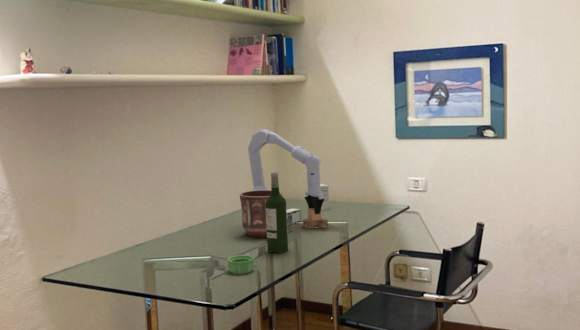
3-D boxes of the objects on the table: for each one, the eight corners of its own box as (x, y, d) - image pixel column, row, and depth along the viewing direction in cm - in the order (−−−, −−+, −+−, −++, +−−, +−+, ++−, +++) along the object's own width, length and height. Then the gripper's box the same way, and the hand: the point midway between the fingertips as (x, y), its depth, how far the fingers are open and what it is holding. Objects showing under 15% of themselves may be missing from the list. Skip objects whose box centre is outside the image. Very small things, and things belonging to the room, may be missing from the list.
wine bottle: (263, 251, 235) (259, 173, 231) (278, 247, 240) (274, 171, 237) (277, 254, 229) (273, 174, 226) (292, 250, 235) (289, 172, 231)
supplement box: (310, 208, 318) (309, 184, 316) (322, 207, 321) (321, 183, 319) (316, 211, 311) (315, 186, 310) (329, 209, 314) (328, 184, 313)
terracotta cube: (312, 221, 272) (312, 210, 271) (308, 219, 276) (307, 208, 275) (321, 220, 274) (321, 209, 273) (317, 218, 278) (316, 207, 277)
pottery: (246, 241, 252) (244, 197, 250) (238, 232, 269) (236, 191, 267) (287, 237, 257) (286, 194, 255) (277, 229, 274) (275, 189, 272)
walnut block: (312, 230, 270) (312, 222, 270) (303, 227, 277) (302, 219, 276) (327, 227, 274) (327, 220, 273) (318, 224, 281) (317, 217, 280)
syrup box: (302, 221, 288) (283, 227, 277) (292, 219, 292) (272, 225, 280) (301, 209, 287) (282, 214, 276) (291, 208, 291) (272, 213, 280)
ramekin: (222, 272, 209) (221, 259, 209) (240, 266, 216) (239, 253, 216) (242, 276, 204) (241, 263, 203) (259, 269, 211) (259, 257, 210)
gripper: (329, 183, 268) (330, 214, 270) (314, 180, 281) (315, 209, 283) (314, 185, 265) (315, 216, 267) (300, 181, 278) (301, 211, 280)
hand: (314, 212), depth 275 cm, fingers open, 5 cm apart
